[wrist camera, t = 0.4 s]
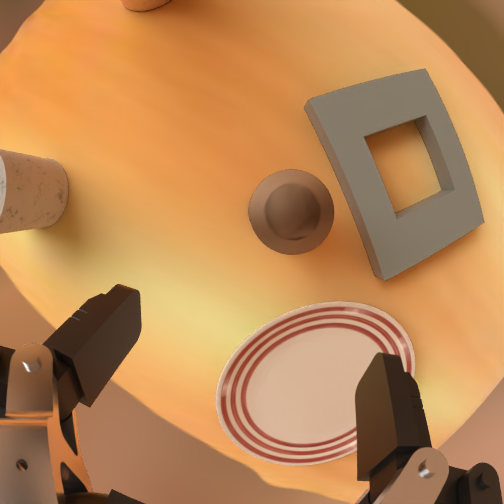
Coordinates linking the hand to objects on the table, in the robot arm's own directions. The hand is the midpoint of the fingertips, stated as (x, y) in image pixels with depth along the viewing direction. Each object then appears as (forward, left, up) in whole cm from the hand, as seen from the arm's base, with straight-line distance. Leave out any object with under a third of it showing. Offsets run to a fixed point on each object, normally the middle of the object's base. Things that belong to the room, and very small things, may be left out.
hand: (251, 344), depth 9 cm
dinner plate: (+22, +1, -26) cm, 34 cm away
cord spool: (-2, +5, -25) cm, 26 cm away
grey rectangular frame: (-1, +22, -25) cm, 33 cm away
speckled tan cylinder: (-18, -22, -25) cm, 38 cm away
